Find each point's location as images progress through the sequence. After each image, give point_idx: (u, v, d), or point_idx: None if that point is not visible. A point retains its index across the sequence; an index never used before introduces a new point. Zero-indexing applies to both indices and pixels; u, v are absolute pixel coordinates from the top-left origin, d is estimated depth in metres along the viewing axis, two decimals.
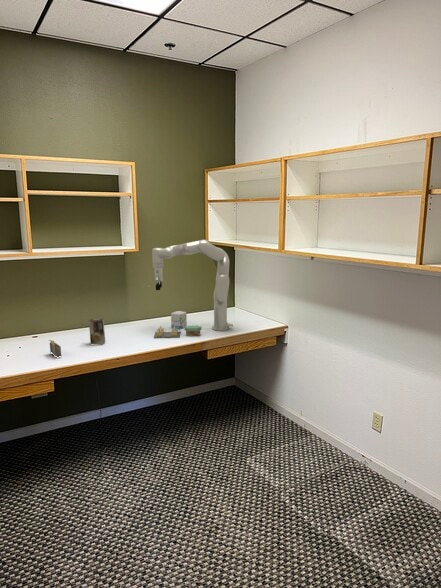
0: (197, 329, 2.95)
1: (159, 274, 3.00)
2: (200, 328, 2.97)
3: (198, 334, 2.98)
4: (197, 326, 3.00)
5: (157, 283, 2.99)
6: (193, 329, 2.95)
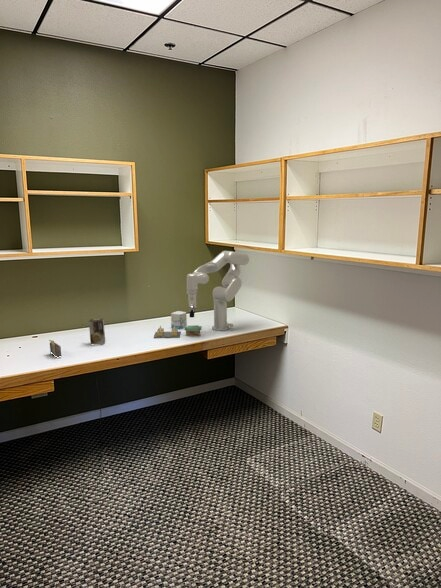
0: (197, 329, 2.95)
1: (193, 301, 2.90)
2: (200, 328, 2.97)
3: (198, 334, 2.98)
4: (197, 326, 3.00)
5: (191, 310, 2.89)
6: (193, 329, 2.95)
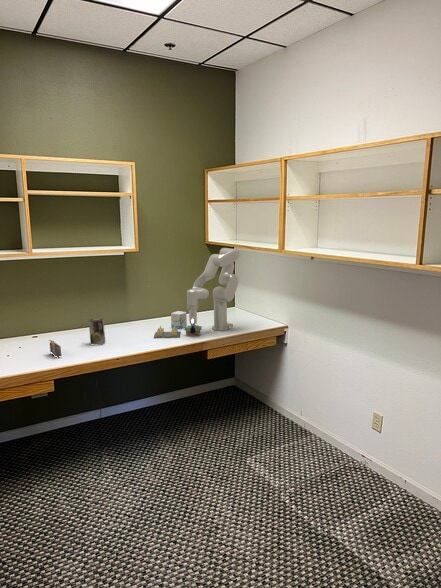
0: (197, 329, 2.95)
1: (194, 316, 2.92)
2: (200, 328, 2.97)
3: (198, 334, 2.98)
4: (197, 326, 3.00)
5: (192, 326, 2.92)
6: None
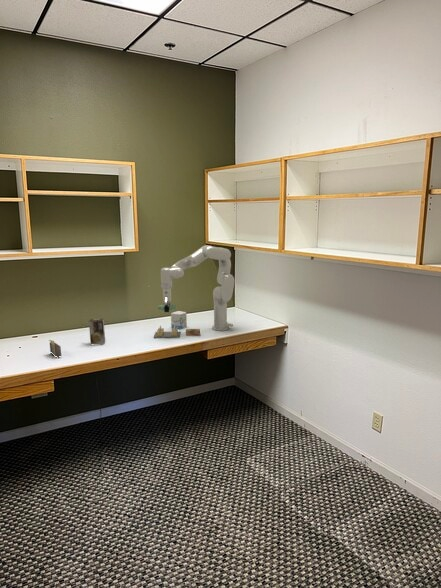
0: (171, 308, 2.92)
1: (168, 295, 2.88)
2: (174, 307, 2.94)
3: (198, 334, 2.98)
4: (171, 305, 2.96)
5: (166, 305, 2.89)
6: None
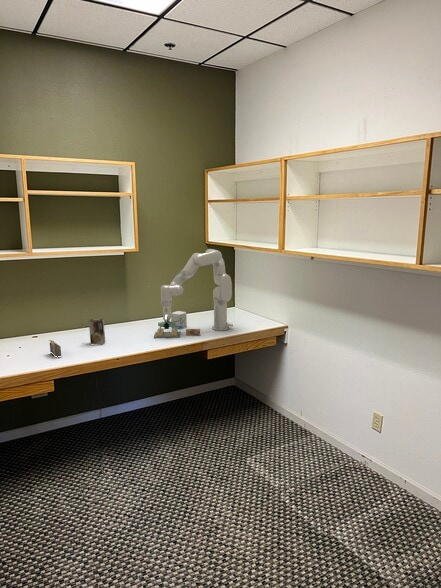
0: (171, 325, 2.94)
1: (168, 312, 2.91)
2: (174, 324, 2.96)
3: (198, 334, 2.98)
4: (171, 322, 2.98)
5: (166, 322, 2.91)
6: None
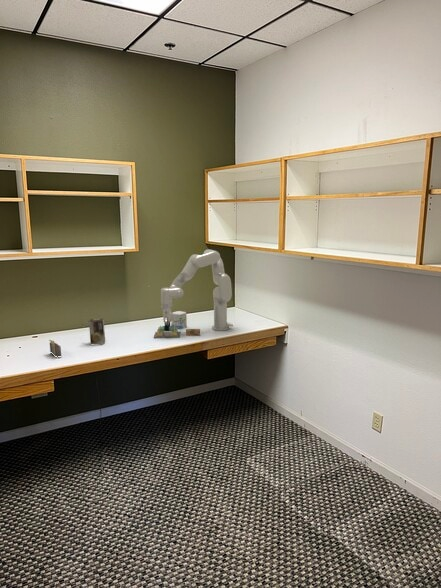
0: (171, 329, 2.95)
1: (168, 315, 2.91)
2: None
3: (198, 334, 2.98)
4: (171, 326, 2.99)
5: (166, 324, 2.90)
6: None
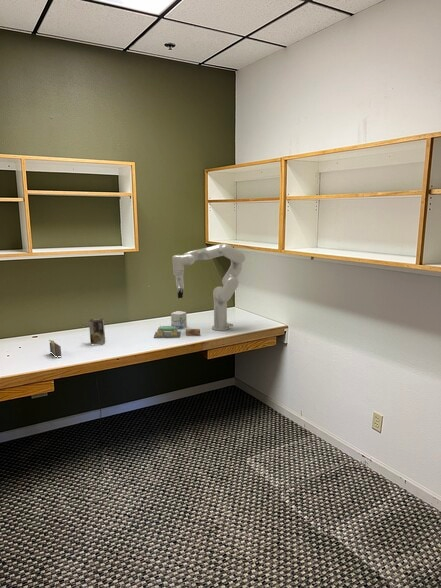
0: (171, 329, 2.95)
1: (181, 282, 2.94)
2: None
3: (198, 334, 2.98)
4: (171, 326, 2.99)
5: (179, 291, 2.93)
6: (167, 329, 2.95)
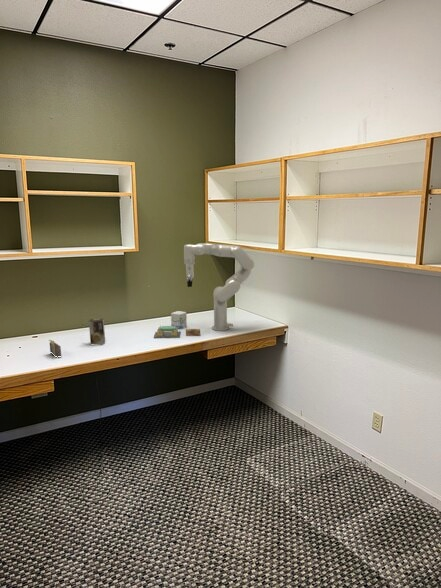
0: (171, 329, 2.95)
1: (191, 271, 2.99)
2: None
3: (198, 334, 2.98)
4: (171, 326, 2.99)
5: (189, 280, 2.98)
6: (167, 329, 2.95)
